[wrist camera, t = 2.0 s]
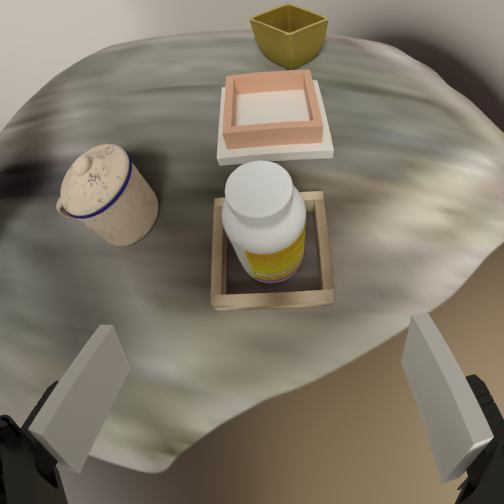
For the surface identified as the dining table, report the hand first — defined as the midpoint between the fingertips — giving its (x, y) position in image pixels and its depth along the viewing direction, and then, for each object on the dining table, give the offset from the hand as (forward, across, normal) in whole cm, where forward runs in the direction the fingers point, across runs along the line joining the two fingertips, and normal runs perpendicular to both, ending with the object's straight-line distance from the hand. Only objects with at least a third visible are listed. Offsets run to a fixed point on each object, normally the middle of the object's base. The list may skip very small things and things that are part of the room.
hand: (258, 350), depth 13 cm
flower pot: (+44, +5, +20) cm, 48 cm away
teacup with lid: (+24, -19, 0) cm, 31 cm away
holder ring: (+20, 0, -4) cm, 21 cm away
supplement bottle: (+20, 0, -5) cm, 21 cm away
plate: (+33, +1, +9) cm, 35 cm away
